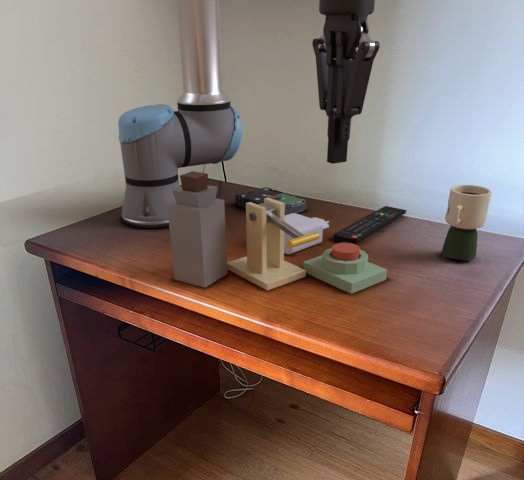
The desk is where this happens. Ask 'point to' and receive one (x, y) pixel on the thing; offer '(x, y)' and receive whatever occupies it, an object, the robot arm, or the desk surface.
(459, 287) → the desk surface
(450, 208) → the character mug
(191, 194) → the perfume bottle
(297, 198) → the disk drive
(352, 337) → the desk surface
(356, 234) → the remote control
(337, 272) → the button box
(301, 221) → the charger
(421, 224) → the desk surface
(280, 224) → the t-handle lever
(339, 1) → the robot arm
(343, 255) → the button
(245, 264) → the bracket
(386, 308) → the desk surface
